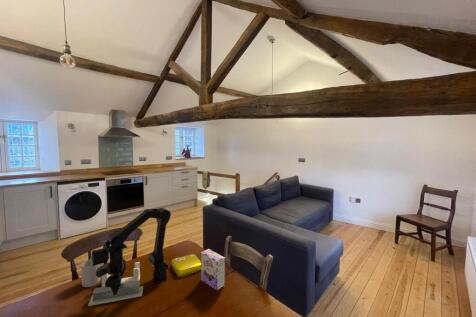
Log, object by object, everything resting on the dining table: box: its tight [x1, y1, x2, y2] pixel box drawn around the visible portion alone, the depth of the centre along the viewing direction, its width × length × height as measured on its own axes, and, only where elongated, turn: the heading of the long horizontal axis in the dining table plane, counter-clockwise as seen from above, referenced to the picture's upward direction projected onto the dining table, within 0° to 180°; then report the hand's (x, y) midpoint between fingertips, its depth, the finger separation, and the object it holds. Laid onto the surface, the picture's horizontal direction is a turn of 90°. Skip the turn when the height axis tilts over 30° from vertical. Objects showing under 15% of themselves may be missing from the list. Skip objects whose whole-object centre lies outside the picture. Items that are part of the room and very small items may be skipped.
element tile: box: [171, 253, 201, 278], centre depth 136 cm, size 15×15×5 cm
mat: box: [87, 285, 144, 307], centre depth 110 cm, size 23×7×1 cm, turn 108°
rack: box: [101, 261, 141, 287], centre depth 121 cm, size 18×7×8 cm, turn 108°
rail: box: [92, 280, 141, 301], centre depth 110 cm, size 20×4×4 cm, turn 108°
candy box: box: [200, 248, 226, 291], centre depth 121 cm, size 14×6×16 cm, turn 46°
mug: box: [80, 259, 103, 288], centre depth 122 cm, size 12×8×11 cm
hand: (117, 288), depth 110 cm, fingers open, 9 cm apart
